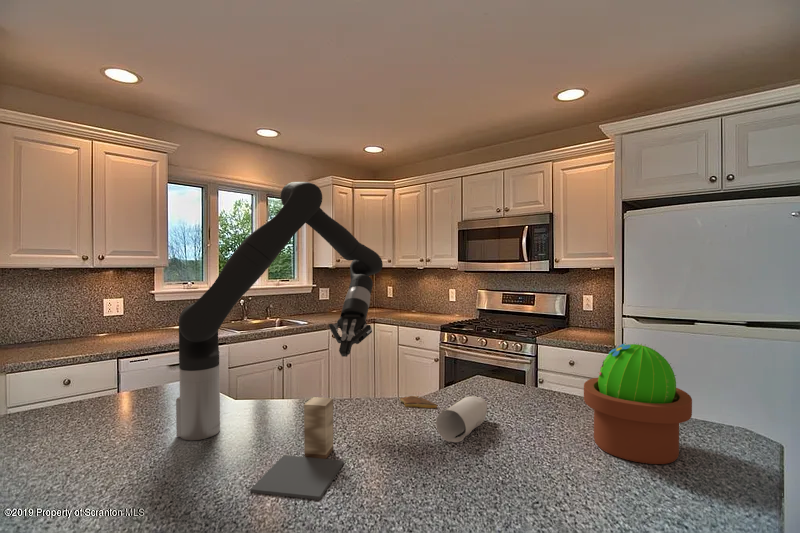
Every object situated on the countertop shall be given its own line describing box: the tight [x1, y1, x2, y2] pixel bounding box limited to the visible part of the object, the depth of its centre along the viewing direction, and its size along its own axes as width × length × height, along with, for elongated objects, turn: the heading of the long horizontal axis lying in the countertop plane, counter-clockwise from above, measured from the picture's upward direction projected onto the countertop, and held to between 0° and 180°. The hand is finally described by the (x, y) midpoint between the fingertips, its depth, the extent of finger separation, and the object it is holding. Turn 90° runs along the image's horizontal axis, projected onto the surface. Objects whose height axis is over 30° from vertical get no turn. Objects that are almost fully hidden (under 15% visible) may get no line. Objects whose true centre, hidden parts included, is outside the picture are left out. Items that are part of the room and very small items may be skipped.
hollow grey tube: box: [435, 396, 488, 444], centre depth 108 cm, size 8×19×8 cm, turn 145°
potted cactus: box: [583, 342, 693, 465], centre depth 98 cm, size 22×22×25 cm
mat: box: [249, 454, 345, 501], centre depth 85 cm, size 14×14×1 cm
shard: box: [399, 395, 439, 409], centre depth 126 cm, size 11×8×2 cm
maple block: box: [303, 396, 334, 459], centre depth 95 cm, size 5×5×12 cm
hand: (343, 355), depth 113 cm, fingers closed
